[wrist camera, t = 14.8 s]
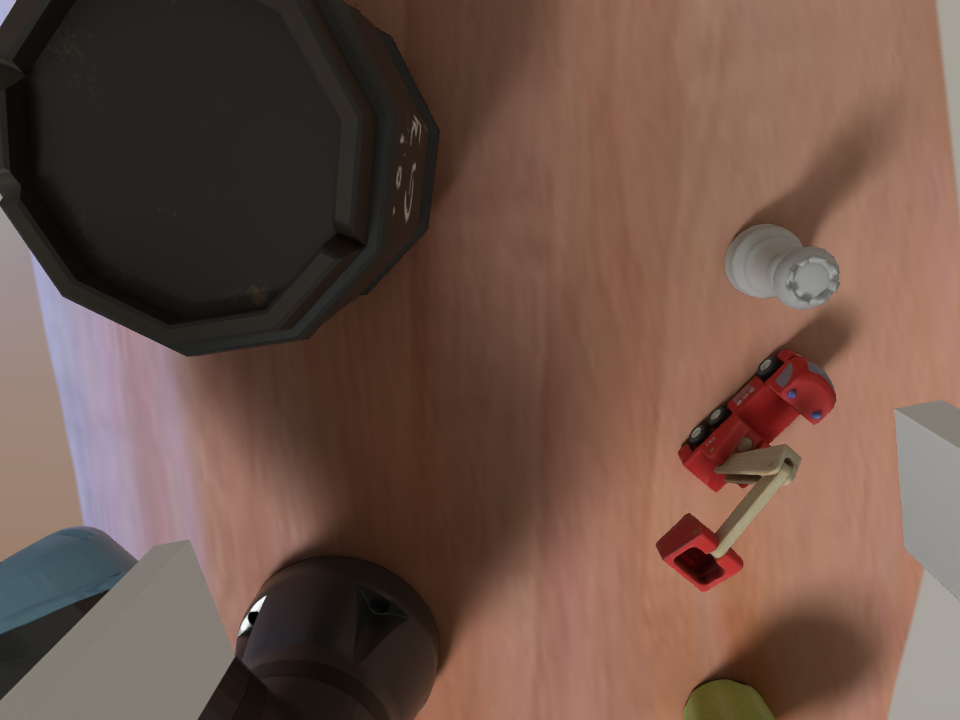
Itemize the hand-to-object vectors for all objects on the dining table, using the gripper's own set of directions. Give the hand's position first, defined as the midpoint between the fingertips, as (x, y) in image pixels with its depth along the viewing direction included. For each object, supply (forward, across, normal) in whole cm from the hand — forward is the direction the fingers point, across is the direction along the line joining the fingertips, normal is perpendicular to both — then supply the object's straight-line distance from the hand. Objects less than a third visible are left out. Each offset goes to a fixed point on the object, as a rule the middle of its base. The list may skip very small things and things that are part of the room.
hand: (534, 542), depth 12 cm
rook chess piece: (+30, -14, +2) cm, 34 cm away
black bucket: (+31, +12, -10) cm, 35 cm away
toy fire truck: (+31, -11, +12) cm, 35 cm away
